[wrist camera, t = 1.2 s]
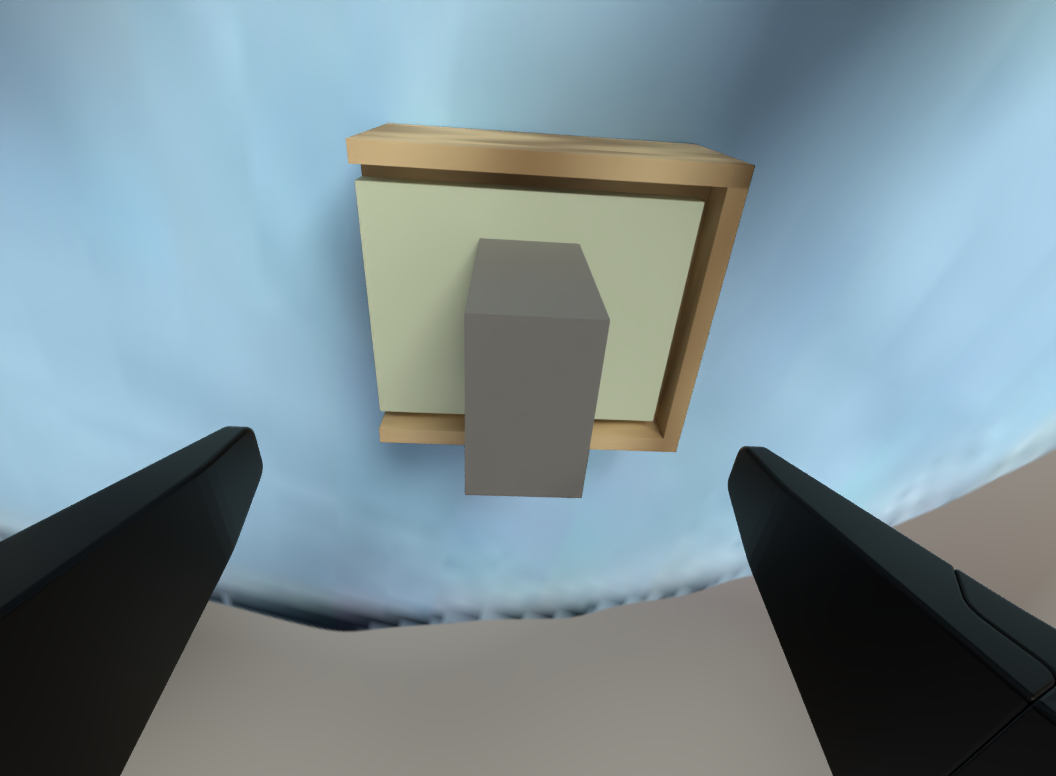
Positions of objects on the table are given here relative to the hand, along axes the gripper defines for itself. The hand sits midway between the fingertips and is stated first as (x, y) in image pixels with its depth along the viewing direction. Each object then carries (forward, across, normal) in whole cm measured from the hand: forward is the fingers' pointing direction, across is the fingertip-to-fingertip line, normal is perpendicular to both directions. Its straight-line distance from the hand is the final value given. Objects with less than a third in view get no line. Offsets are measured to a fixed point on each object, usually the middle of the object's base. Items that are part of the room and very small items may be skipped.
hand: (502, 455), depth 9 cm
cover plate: (+9, -1, +1) cm, 9 cm away
